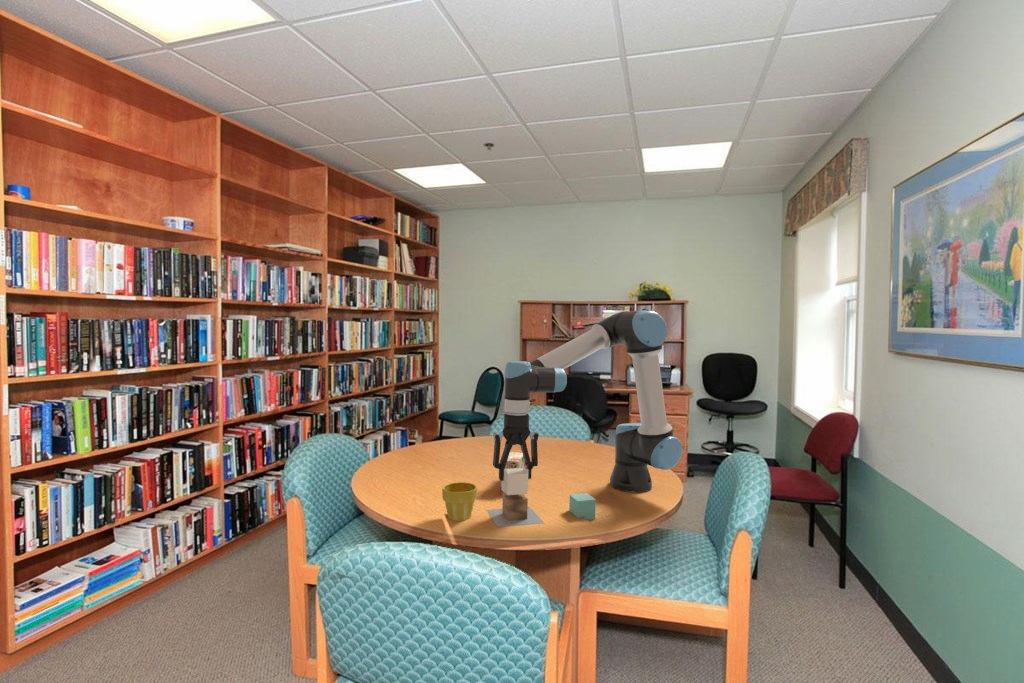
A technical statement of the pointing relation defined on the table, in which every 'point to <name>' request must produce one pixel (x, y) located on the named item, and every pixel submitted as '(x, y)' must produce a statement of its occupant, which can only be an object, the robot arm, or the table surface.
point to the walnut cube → (515, 507)
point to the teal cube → (582, 506)
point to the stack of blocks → (514, 463)
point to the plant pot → (459, 499)
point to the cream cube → (516, 481)
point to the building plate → (502, 521)
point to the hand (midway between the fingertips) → (514, 490)
